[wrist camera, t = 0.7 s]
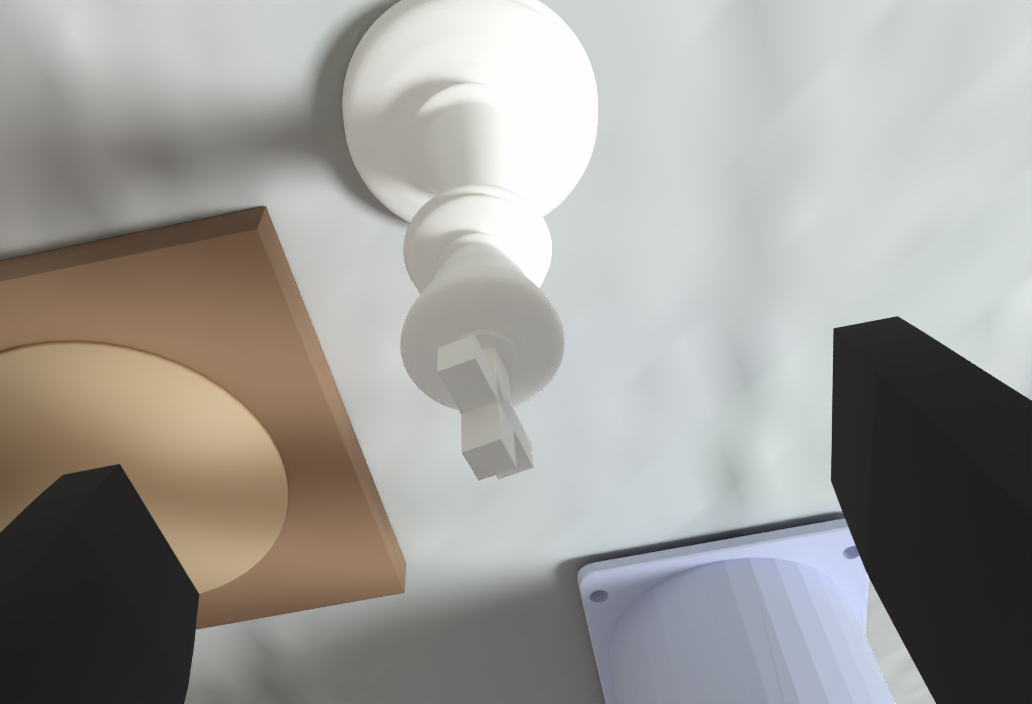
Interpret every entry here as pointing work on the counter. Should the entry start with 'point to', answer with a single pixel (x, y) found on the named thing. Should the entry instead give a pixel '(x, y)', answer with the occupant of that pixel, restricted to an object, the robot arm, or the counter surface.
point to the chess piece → (475, 195)
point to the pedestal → (195, 412)
